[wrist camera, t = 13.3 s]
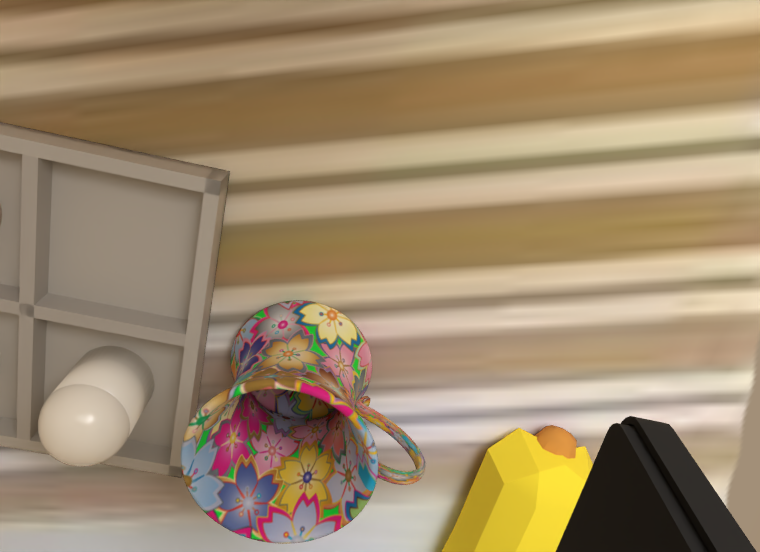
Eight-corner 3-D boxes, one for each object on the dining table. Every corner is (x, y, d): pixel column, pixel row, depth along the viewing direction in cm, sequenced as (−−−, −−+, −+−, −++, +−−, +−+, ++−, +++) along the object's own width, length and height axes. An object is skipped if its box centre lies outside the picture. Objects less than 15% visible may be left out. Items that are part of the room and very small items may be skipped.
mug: (213, 400, 42) (163, 520, 33) (246, 269, 39) (201, 359, 29) (394, 446, 44) (398, 575, 34) (440, 323, 40) (460, 427, 31)
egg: (77, 338, 40) (21, 401, 34) (158, 353, 41) (117, 418, 34) (73, 405, 42) (20, 476, 36) (150, 419, 42) (111, 492, 36)
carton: (-138, 92, 35) (-169, 98, 33) (229, 171, 37) (221, 181, 35) (-117, 400, 42) (-142, 421, 40) (190, 455, 44) (181, 477, 42)
